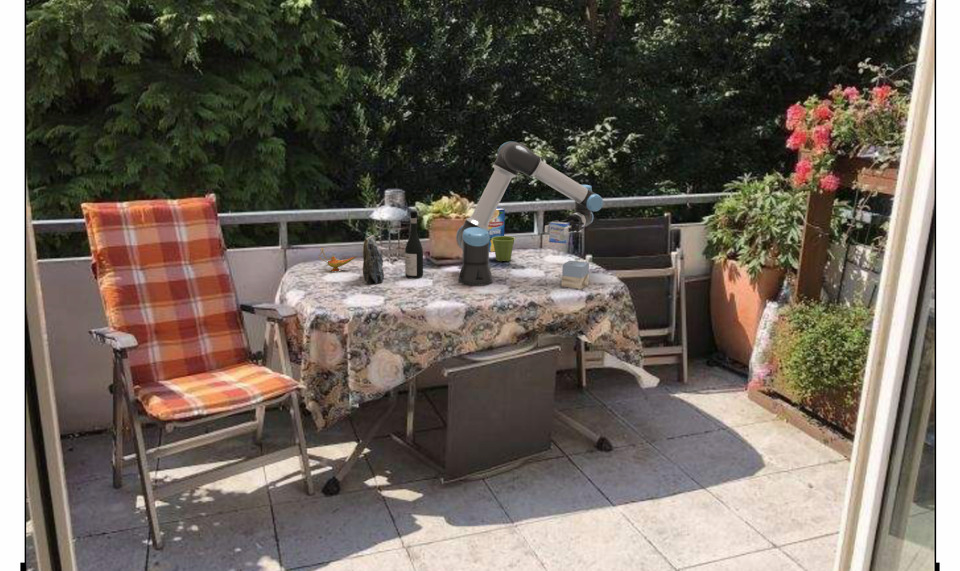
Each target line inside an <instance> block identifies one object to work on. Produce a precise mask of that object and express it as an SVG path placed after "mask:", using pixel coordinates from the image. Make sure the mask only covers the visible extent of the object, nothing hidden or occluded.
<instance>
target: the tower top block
mask: <svg viewBox="0 0 960 571" xmlns="http://www.w3.org/2000/svg"><path fill="white" fill-rule="evenodd" d="M589 268H590V263H589V262H588V261H585V262H584V261H577V260H567V261H566V262H564V263H563V264H562V270H561V271H562V274H561V277H562V276H569V277H577V278H583V277H584V276H586V275H587V274H589V272H590V271H589V270H590V269H589ZM589 275H590V274H589Z"/></svg>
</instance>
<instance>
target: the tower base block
mask: <svg viewBox="0 0 960 571" xmlns="http://www.w3.org/2000/svg"><path fill="white" fill-rule="evenodd" d="M589 278H590V274H587V275H586V276H584V277H583V278H577V277H569V276H562V275H561V287H566V288H573V289H579V290H581V289H583V288H585V287H586V286H589Z"/></svg>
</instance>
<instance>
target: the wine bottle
mask: <svg viewBox="0 0 960 571" xmlns="http://www.w3.org/2000/svg"><path fill="white" fill-rule="evenodd" d="M409 215H410V234H409V237H408V241H407V242H406V246H405V250H404V264H405V265H404V268H405V269H404V273H405V276H406V277H407V278H408V279H409V278H410V279H419V278H422V277H423V276H424V250H423V246H422V243H421V240H420V238H419V235H418V221H417V220H418V218H417V217H418V211H417V210H411V211H410V212H409Z"/></svg>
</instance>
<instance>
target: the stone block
mask: <svg viewBox="0 0 960 571" xmlns="http://www.w3.org/2000/svg"><path fill="white" fill-rule="evenodd" d="M362 258H363V262H362V276H363V278H364V282H365V285H376V284H379V283H383V281H384V278H385V273H384V269H383V266H384V259H383V257H382V252H381V249H380V247H379V245H378V243H377V238H376V237H375V235H374V234H371V235H370V236H368V237H365V240H364V241H363V246H362Z"/></svg>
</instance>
